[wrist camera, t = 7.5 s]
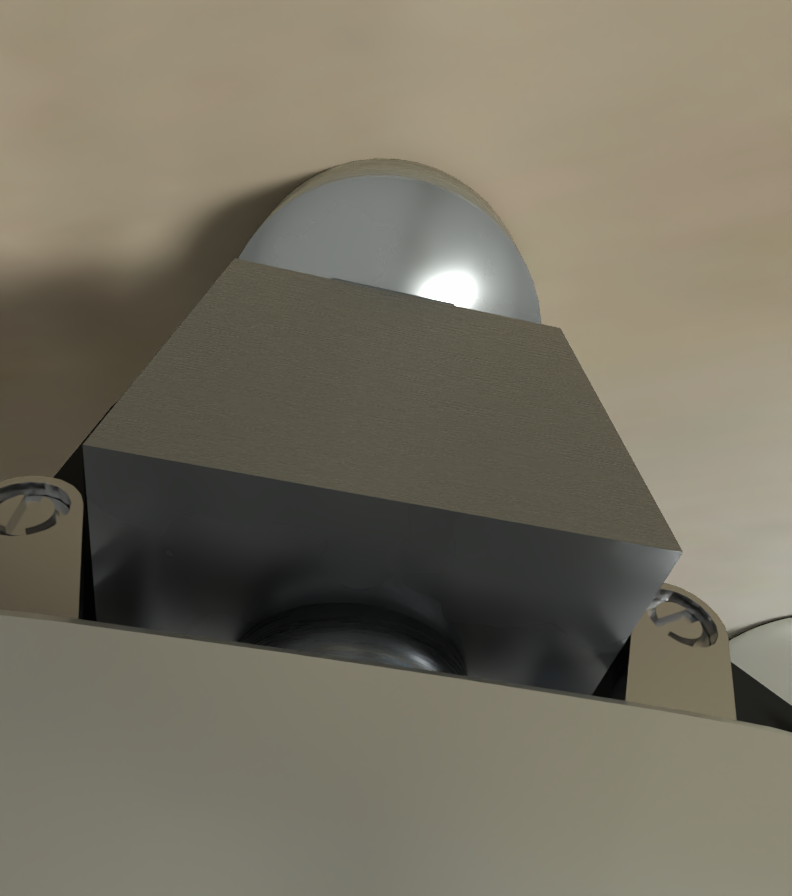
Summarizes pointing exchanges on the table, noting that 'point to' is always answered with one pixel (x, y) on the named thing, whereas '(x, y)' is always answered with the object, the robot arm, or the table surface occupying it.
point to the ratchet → (399, 237)
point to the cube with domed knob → (373, 487)
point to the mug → (767, 656)
